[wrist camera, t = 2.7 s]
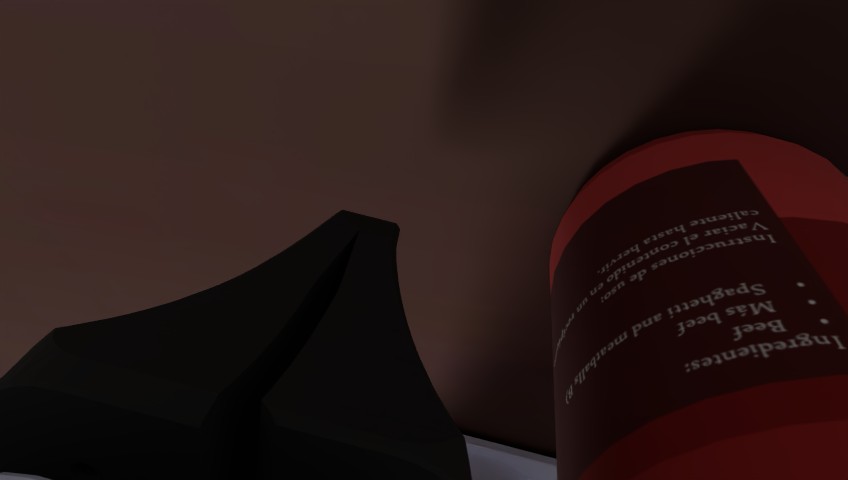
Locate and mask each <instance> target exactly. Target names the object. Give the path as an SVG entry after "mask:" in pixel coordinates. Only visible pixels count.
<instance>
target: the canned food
mask: <svg viewBox="0 0 848 480" xmlns="http://www.w3.org/2000/svg"><path fill="white" fill-rule="evenodd" d="M549 268H550V296H551V323H552V351H553V378H554V405H555V433H556V460H557V480H848V176H847V175H845V174H844V173H843V172H842V171H841V170H839V169H838V168H837V167H836V166H835V165H833V164H832V163H831V162H830V161H829V160H827V159H826V158H824V157H822V156H820V155H818V154H816V153H814V152H812V151H810V150H808V149H806V148H804V147H802V146H800V145H798V144H795V143H791V142H787V141H784V140H780V139H776V138H773V137H769V136H765V135H761V134H757V133H753V132H749V131H737V130H725V129H710V130H698V131H686V132H682V133H678V134H674V135H670V136H666V137H662V138H658V139H654V140H652V141H650V142H648V143H645V144H643V145H641V146H638V147H636V148H634V149H631V150H629V151H627V152H625V153H624V154H622V155H621V156H619V157H618V158H616V159H615V160H613V161H612V162H610V163H609V164H607V165H605V166H604V167H603V168H601V169H600V170H599V171H598V172H597V173H596V174H595V175H594V176H593V177H592V178H591V179H590V180H589V181H588V182H587V183H586V184H585V185H584V186H583V187H582V188H581V190H580V191H579V193H578V194H577V196H576V197H575V198H574V200H573V201H572V203H571V204H570V206H569V207H568V209H567V211H566V212H565V214H564V216H563V217H562V220H561V222H560V224H559V227H558V229H557V232H556V234H555V237H554V239H553V243H552V249H551V256H550V263H549Z"/></svg>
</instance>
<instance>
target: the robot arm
mask: <svg viewBox="0 0 848 480" xmlns="http://www.w3.org/2000/svg"><path fill="white" fill-rule="evenodd" d="M399 232H400V228H399V227H398V225H397V224H396V223H393V222H389V221H385V220H381V219H377V218H373V217H369V216H365V215H361V214H357V213H353V212H349V211H345V210H341V211H340V212H338V213H336V214H335V215H334V216H332V217H331V218H330V219H328V220H327V221H326V222H324V223H323V224H322V225H320V226H319V227H318V228H316V229H315V230H313V231H312V232H311V233H309V234H308V235H306V236H305V237H304V238H302V239H301V240H299V241H298V242H296V243H295V244H293V245H292V246H290V247H289V248H287V249H286V250H284V251H282V252H281V253H279V254H277V255H276V256H274V257H272V258H271V259H269V260H267V261H265V262H264V263H262V264H260V265H258V266H257V267H255V268H253V269H251V270H249V271H247V272H245V273H244V274H242V275H240V276H238V277H235V278H233V279H231V280H229V281H226V282H224V283H222V284H220V285H217V286H215V287H212V288H210V289H207V290H204V291H201V292H199V293H196V294H193V295H190V296H187V297H185V298H182V299H179V300H176V301H173V302H170V303H167V304H163V305H160V306H157V307H153V308H150V309H146V310H142V311H138V312H134V313H130V314H127V315H122V316H118V317H113V318H108V319H103V320H98V321H93V322H87V323H82V324H77V325H72V326H66V327H60V328H55V329H54V330H52V331H51V332H50V333H49V334H48V335H46V336H45V337H44V338H43V339H42V340H41V341H39V342H38V343H37V344H36V345H35V346H33V347H32V348H31V349H30V350H29V351H28V352H27V353H26V354H25V355H24V356H23V357H22V358H21V359H20V360H19V361H18V362H17V363H16V364H15V365H14V366H13V367H12V368H11V369H10V370H9V371H8V372H7V373H6V374H5V375H4V376H3V377H2V378H1V379H0V480H557V460H556V459H555V458H551V457H547V456H543V455H540V454H536V453H532V452H528V451H524V450H520V449H517V448H513V447H509V446H505V445H501V444H497V443H494V442H490V441H486V440H482V439H478V438H474V437H471V436H467V435H463V434H462V433H461V431H460V430H459V428H458V427H457V426H456V424H455V423H454V421H453V420H452V418H451V416H450V415H449V413H448V412H447V410H446V408H445V407H444V405H443V403H442V402H441V400H440V398H439V396H438V394H437V393H436V391H435V389H434V387H433V385H432V383H431V381H430V379H429V377H428V375H427V372H426V370H425V368H424V366H423V364H422V362H421V360H420V357H419V355H418V352H417V350H416V347H415V344H414V342H413V339H412V336H411V333H410V330H409V327H408V323H407V320H406V316H405V312H404V308H403V304H402V299H401V294H400V288H399V282H398V273H397V263H396V246H397V242H398V237H399Z"/></svg>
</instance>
